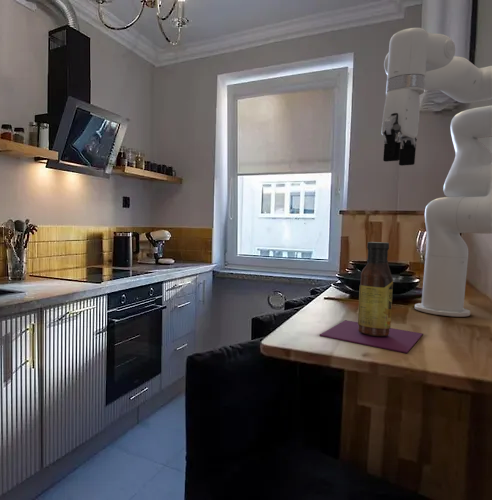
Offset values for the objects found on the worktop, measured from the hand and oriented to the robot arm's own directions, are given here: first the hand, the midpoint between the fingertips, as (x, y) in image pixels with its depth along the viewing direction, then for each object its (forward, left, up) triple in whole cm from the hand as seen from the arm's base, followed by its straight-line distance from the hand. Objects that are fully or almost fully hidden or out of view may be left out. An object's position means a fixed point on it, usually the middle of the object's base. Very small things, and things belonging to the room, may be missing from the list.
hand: (399, 163), depth 99 cm
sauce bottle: (+14, +2, -38) cm, 41 cm away
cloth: (+14, +2, -38) cm, 41 cm away
